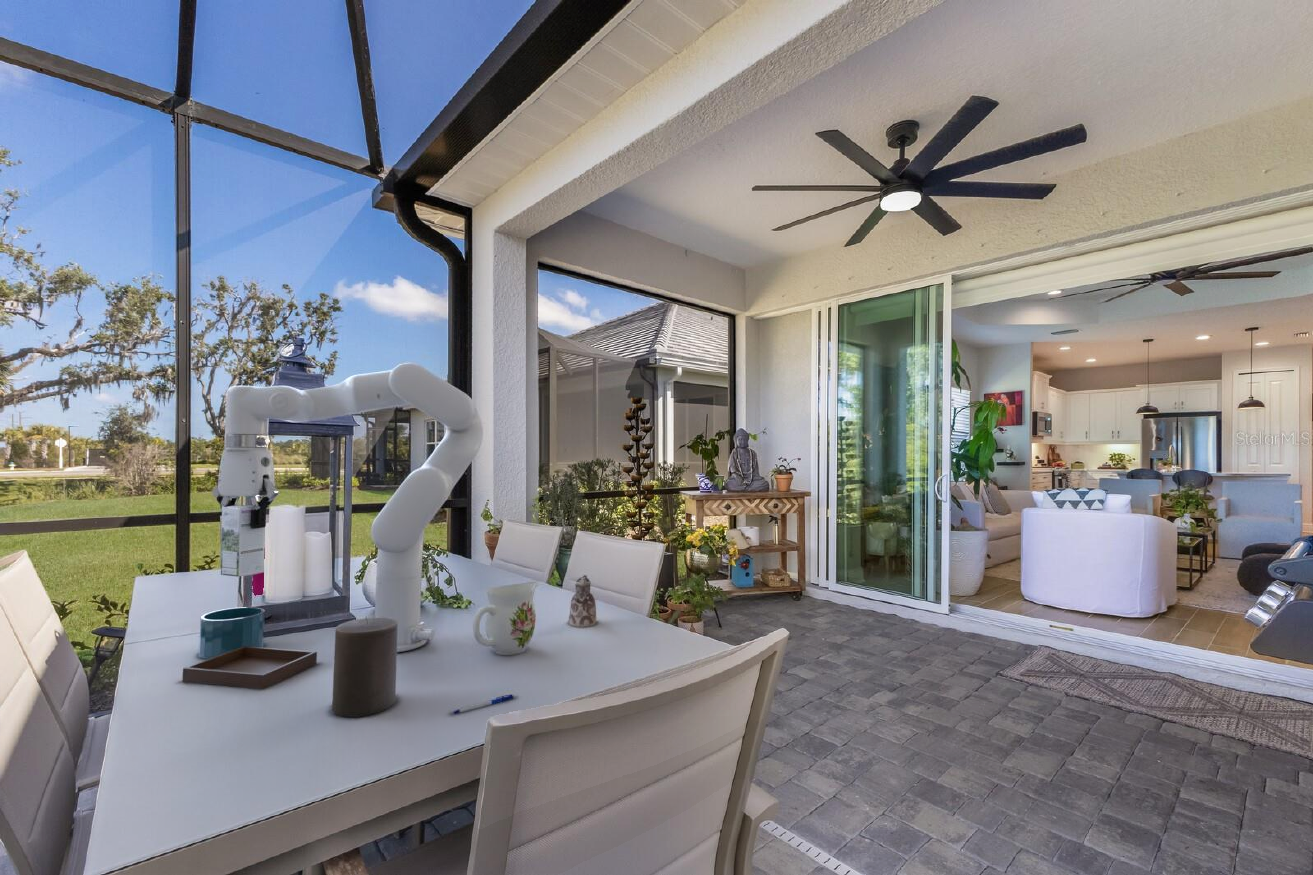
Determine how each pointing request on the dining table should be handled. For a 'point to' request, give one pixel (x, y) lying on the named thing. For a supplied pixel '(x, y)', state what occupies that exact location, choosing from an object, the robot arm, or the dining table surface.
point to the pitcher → (508, 618)
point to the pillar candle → (364, 666)
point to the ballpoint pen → (485, 704)
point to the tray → (250, 667)
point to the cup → (230, 630)
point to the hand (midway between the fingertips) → (244, 526)
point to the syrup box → (241, 543)
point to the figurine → (582, 605)
